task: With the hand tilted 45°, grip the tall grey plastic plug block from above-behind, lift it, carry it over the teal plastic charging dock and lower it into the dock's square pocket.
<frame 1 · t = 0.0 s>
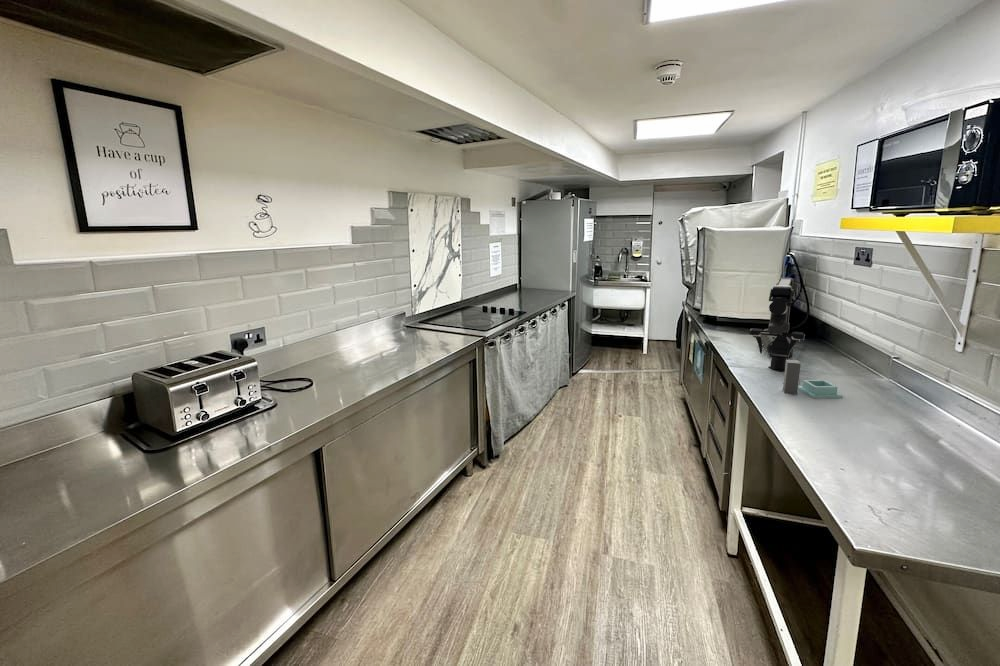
hand: (774, 355, 181), 15 cm above the counter, tool pointing down, fingers open, 9 cm apart
plug: (789, 392, 183), on the counter
dock: (818, 392, 181), on the counter
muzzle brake: (771, 352, 240), on the counter
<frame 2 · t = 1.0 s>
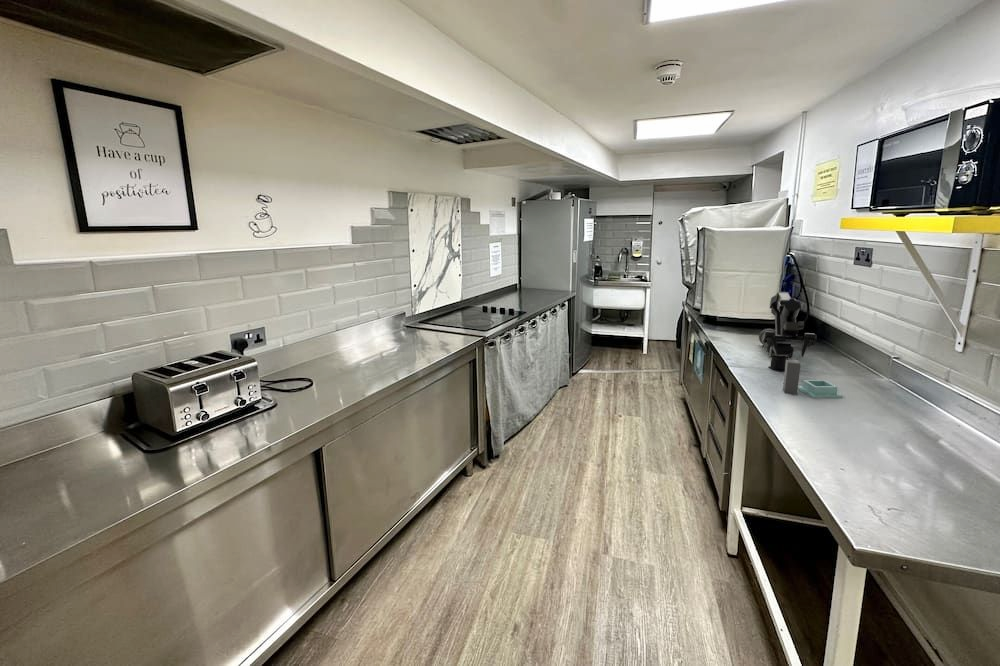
hand: (789, 355, 187), 13 cm above the counter, tool tilted 45°, fingers open, 9 cm apart
nothing on the counter moved.
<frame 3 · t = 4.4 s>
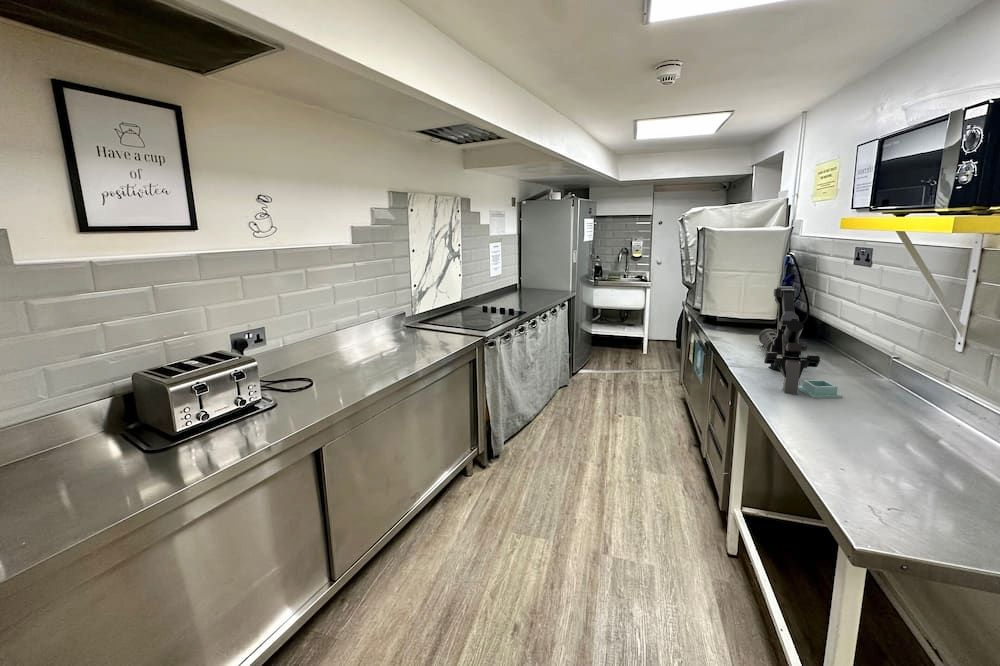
hand: (792, 377, 180), 7 cm above the counter, tool tilted 45°, fingers closed on plug, 4 cm apart
plug: (789, 391, 183), on the counter, touching gripper
everything else where it was.
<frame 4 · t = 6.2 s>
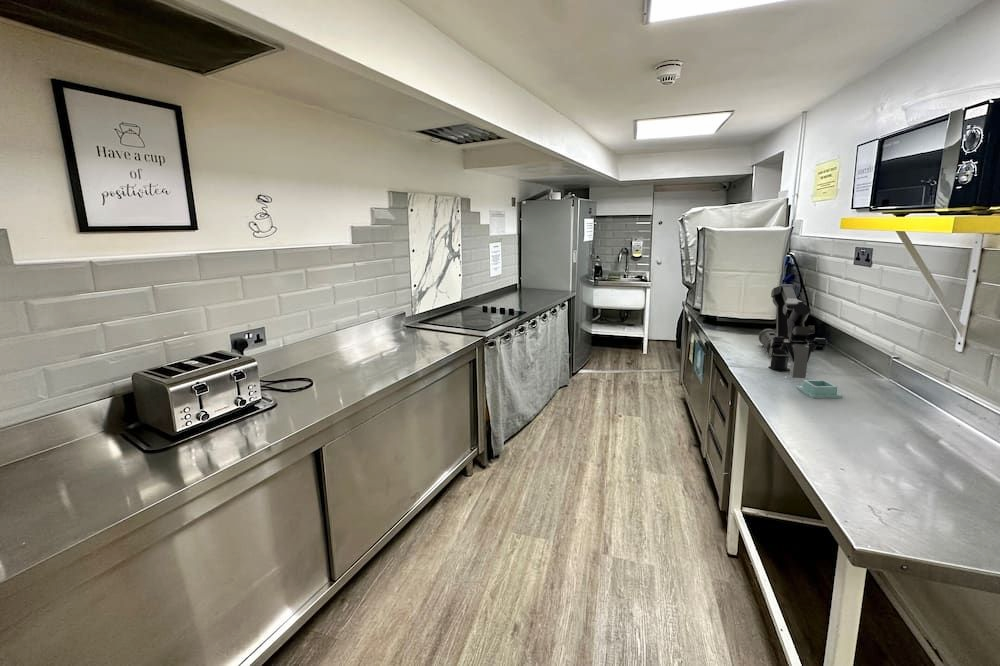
hand: (800, 361, 178), 13 cm above the counter, tool tilted 45°, fingers closed on plug, 4 cm apart
plug: (797, 376, 181), point 7 cm above the counter, touching gripper
everything else where it was.
when the fingers open (9 cm above the counter, at t = 8.3 s): plug drops 1 cm, resting on dock.
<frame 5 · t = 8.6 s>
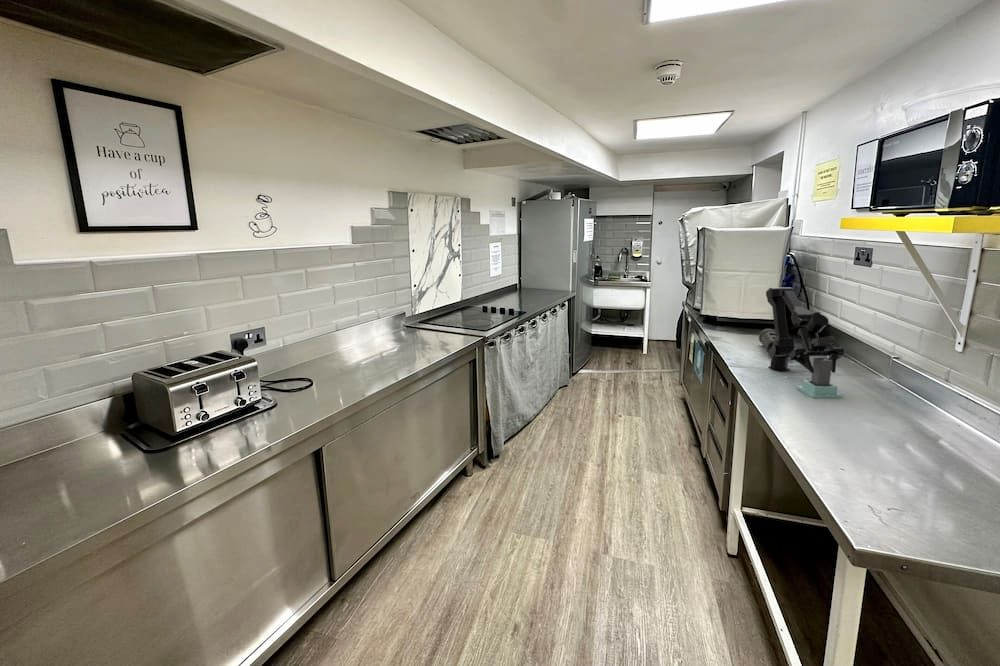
hand: (823, 372, 178), 9 cm above the counter, tool tilted 45°, fingers open, 8 cm apart
plug: (819, 390, 181), point 1 cm above the counter, touching dock
everything else where it was.
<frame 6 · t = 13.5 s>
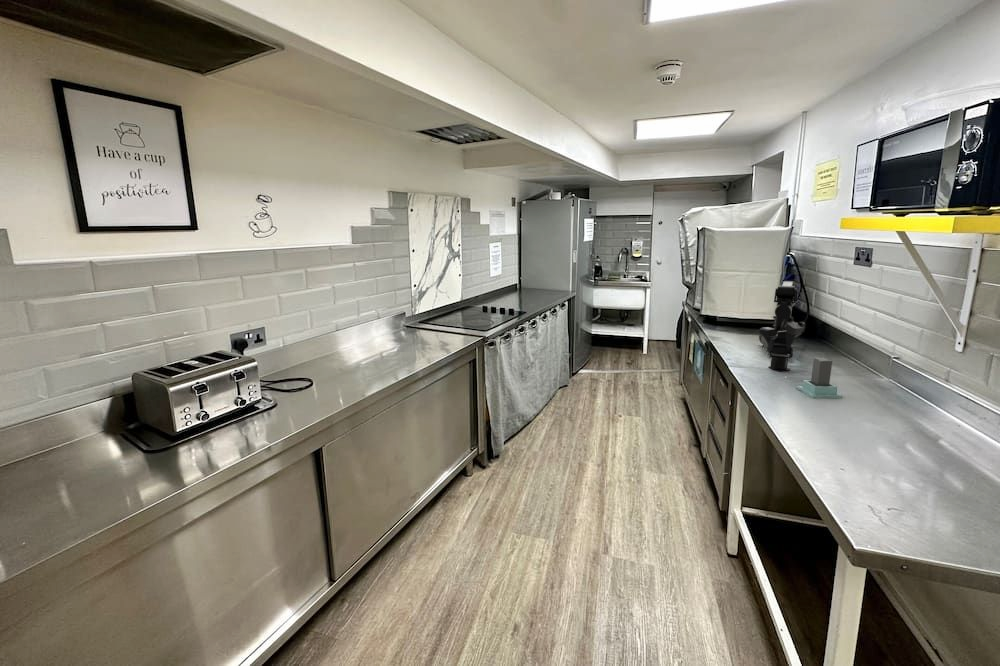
hand: (779, 349, 198), 13 cm above the counter, tool pointing down, fingers open, 9 cm apart
nothing on the counter moved.
at the end: plug 0.0 cm off-centre on the dock, point 1.1 cm above the dock's base; plug tilted 0°; the gripper is holding nothing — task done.
